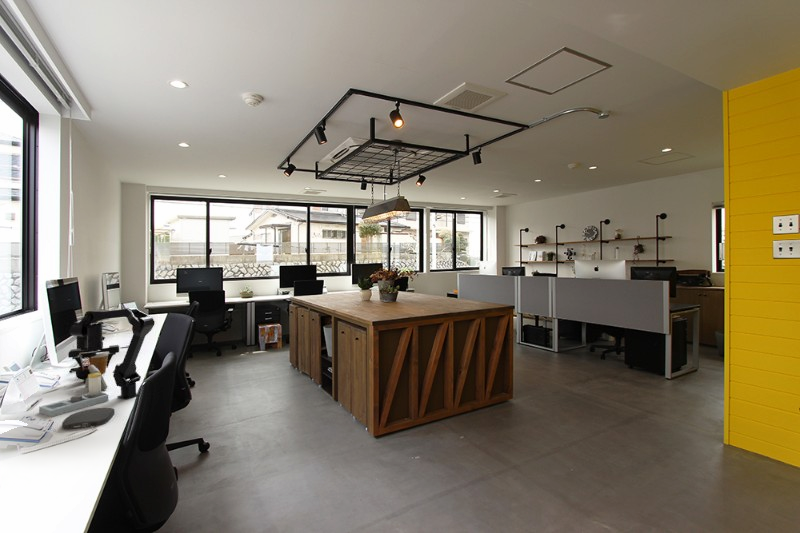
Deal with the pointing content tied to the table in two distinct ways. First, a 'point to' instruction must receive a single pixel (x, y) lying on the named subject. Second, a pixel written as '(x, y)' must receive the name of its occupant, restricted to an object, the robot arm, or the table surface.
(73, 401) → the plunger
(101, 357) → the disposable coffee cup
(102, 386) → the grey triangular stone
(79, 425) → the media streaming box
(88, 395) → the pad
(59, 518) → the table surface
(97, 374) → the cartridge
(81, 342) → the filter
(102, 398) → the housing
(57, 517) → the table surface
